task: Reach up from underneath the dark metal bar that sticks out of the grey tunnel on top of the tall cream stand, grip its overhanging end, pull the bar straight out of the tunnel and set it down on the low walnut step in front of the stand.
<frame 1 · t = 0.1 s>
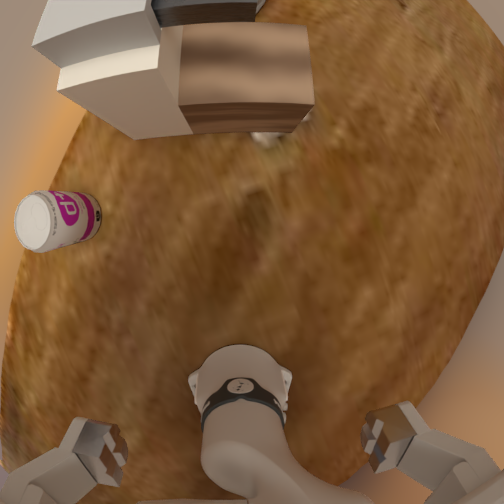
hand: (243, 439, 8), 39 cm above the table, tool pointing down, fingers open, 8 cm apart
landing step: (242, 98, 42), on the table
supplement can: (83, 216, 44), on the table
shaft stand: (164, 102, 42), on the table
metal bar: (142, 19, 18), point 24 cm above the table, touching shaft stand
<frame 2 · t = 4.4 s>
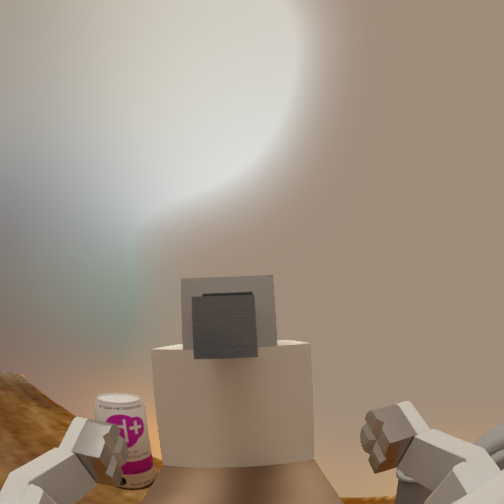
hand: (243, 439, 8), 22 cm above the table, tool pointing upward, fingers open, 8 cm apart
supplement can: (131, 480, 32), on the table
metal bar: (230, 347, 23), point 24 cm above the table, touching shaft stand
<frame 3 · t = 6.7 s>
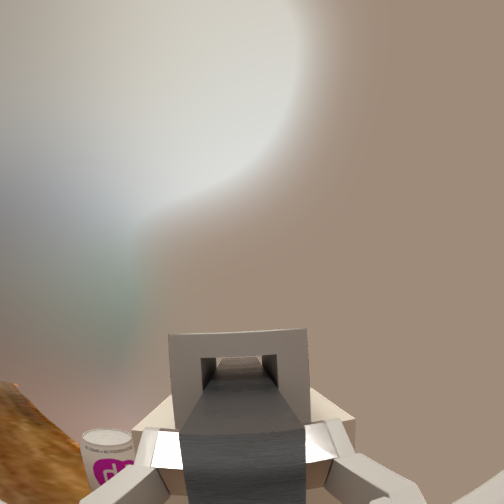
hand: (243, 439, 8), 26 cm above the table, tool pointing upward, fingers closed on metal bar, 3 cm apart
metal bar: (242, 422, 15), point 24 cm above the table, touching gripper
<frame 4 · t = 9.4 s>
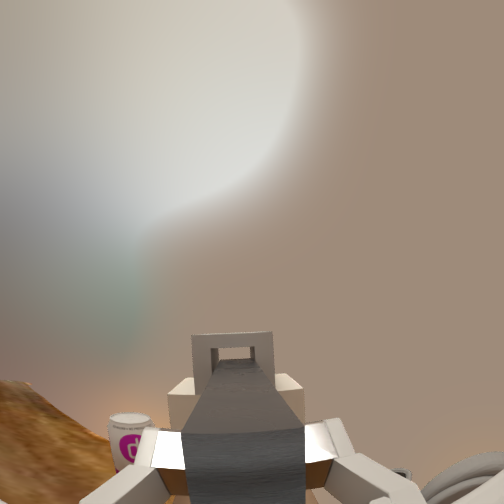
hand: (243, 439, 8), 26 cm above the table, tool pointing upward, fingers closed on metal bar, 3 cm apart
supplement can: (143, 490, 35), on the table
metal bar: (241, 422, 15), point 24 cm above the table, touching gripper
when the fingers open (19 cm above the table, at t = 12.4 s): metal bar drops 3 cm, resting on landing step.
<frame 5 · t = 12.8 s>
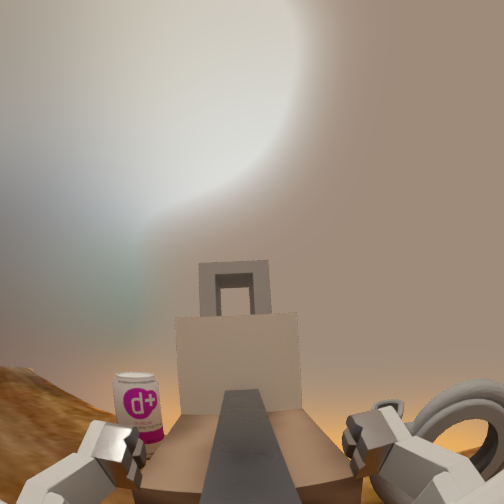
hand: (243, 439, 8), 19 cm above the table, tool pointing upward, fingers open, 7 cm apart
supplement can: (144, 452, 40), on the table
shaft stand: (248, 496, 27), on the table
metal bar: (246, 465, 14), point 14 cm above the table, touching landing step
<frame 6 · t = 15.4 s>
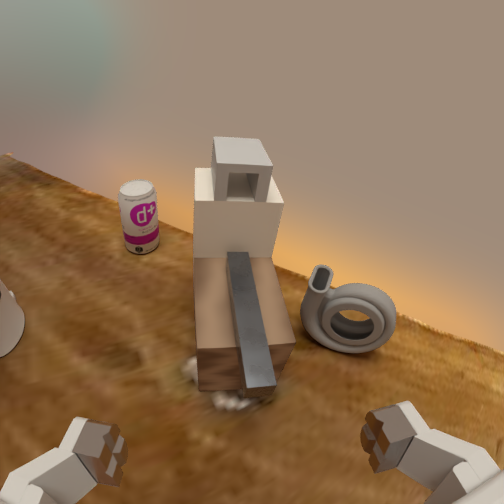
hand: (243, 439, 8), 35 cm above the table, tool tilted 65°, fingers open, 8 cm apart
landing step: (231, 348, 48), on the table
supplement can: (142, 244, 65), on the table
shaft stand: (224, 292, 58), on the table
turbocharger housing: (332, 341, 52), on the table
metal bar: (244, 323, 36), point 14 cm above the table, touching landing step
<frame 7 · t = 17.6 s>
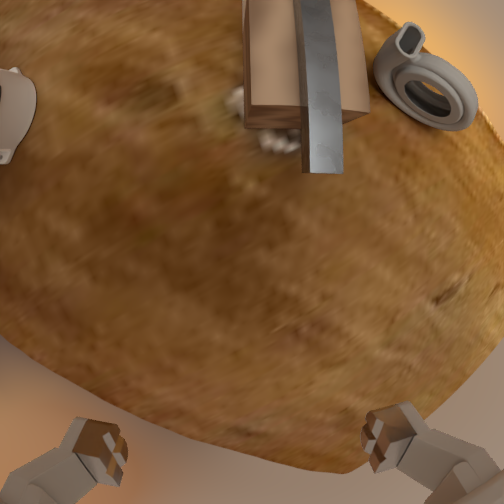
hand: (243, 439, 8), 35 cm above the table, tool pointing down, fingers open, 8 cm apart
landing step: (285, 79, 36), on the table
turbocharger housing: (398, 95, 38), on the table
metal bar: (313, 75, 24), point 14 cm above the table, touching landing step
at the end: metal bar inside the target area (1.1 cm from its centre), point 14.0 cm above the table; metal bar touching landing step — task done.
